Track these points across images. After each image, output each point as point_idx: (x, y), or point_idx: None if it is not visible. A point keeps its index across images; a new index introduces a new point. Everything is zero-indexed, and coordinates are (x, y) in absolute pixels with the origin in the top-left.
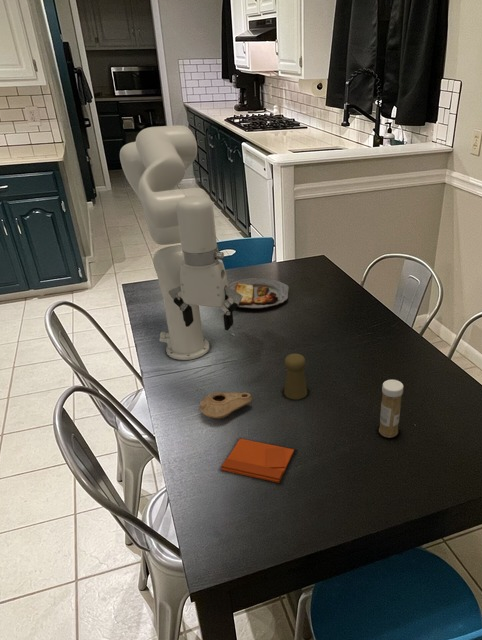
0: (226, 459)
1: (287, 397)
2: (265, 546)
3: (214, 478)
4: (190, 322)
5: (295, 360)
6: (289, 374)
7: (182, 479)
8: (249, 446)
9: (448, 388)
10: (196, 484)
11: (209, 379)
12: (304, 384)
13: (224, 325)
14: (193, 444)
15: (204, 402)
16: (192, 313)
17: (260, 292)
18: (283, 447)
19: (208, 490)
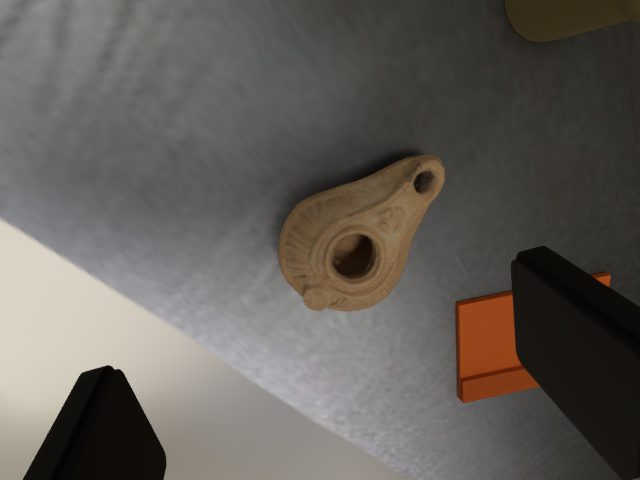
0: (465, 384)
1: (527, 39)
2: (600, 475)
3: (453, 418)
4: (144, 440)
5: None
6: (612, 18)
7: (389, 449)
8: (496, 318)
9: None
10: (425, 445)
11: (161, 60)
12: None
13: (548, 394)
14: (345, 366)
15: (317, 296)
16: (88, 441)
17: None
18: None
19: (457, 444)
